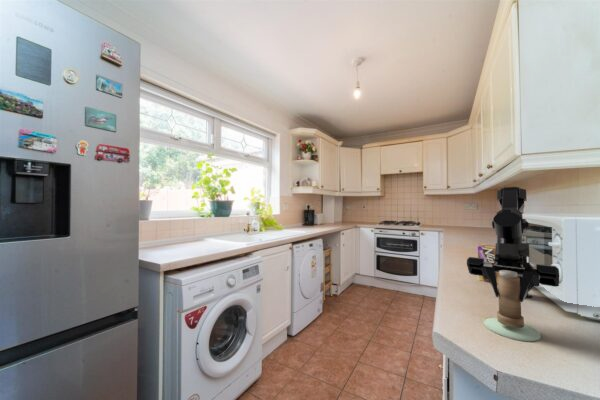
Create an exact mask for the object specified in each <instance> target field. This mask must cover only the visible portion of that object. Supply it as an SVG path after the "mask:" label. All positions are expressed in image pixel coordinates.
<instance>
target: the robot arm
mask: <svg viewBox="0 0 600 400" xmlns="http://www.w3.org/2000/svg"><path fill="white" fill-rule="evenodd" d="M496 198H497V199H496V200H497V202H498V203H499V205H500V206H499V207H500V208H501V209H500V210H497V212H496V214H495V215H494V216H493V219H492V221H491V226H492V228H493V230H494V233H495V235H496V243H495V245H496V252H495V262H496V264H493V263H491V262H484V258H478V257H475V256H469V257H468V258H467V259H466V266H467V270H468V273H469V275H473V276H478V277H479V276H483V278H485V279H488V280H489V282H488V283H490V285H491V287H492V290H493V292H494V295H495V297H496V298H498V284H497V281H496V275H495V272H499V271H500V270H508V271H514V272H517V276H518V277H519V278H520V300H521V303H523V302H524V301H525V299H526V298H533V295H532V294H530V293H529V292H530V291H531V290H532V289H533V288H534V287H540V285H542V286H549V287H559V286H560V270H559V268H558V266H556V265H551V264H542V263H541V264H540V263H536V266H535V267H536V268H534V267H533V266H532V265H531V263H530V261H529V262H528V258H530V243H528V242H527V243H525V242H523V236H522V235H523V234H524V231H527V230H528V228H529V227H530V224H529V222H528V221H527V218H523V217H524V216H523V211H522V210H523V209H524V208H525V202H527V189H525V188H520V187H519V186H504V187H501V188H500V189H498V190H496Z"/></svg>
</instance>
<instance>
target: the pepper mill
mask: <svg viewBox="0 0 600 400" xmlns="http://www.w3.org/2000/svg"><path fill="white" fill-rule="evenodd" d="M497 276H498V284H497V287H498V297H497V298H498V311H497V313H496V314H497V317H496V318H497V319H498V322H500V323H501V324H503V325H506V326H509V327H514V328H522V327H524V324H525V319H524V316H523V315H522V302H521V300H520V278H519V277H518V276H517V272H514V271H508V270H500V271H499V275H497Z"/></svg>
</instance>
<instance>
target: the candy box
mask: <svg viewBox="0 0 600 400" xmlns="http://www.w3.org/2000/svg"><path fill="white" fill-rule="evenodd" d="M495 252H496V244H495V245H493V244H484V243H480V244H477V258H484V262H491V263H493V264H496V262H495ZM495 275H496V281H497V285H498V276H497V275H499V272H495ZM478 280H479V281H480V282H481V281H482V282H486V283H490V282H489V280H488V279H485V278H483V276H479V275H478Z"/></svg>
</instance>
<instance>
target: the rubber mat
mask: <svg viewBox="0 0 600 400" xmlns="http://www.w3.org/2000/svg"><path fill="white" fill-rule="evenodd" d="M483 324H484V326H485V328H486V329H487V330H489V331H490V332H493V333H494V334H495V335H496V334H497V335H499V336H501V337H505V338H508V339H511V340H515V341H521V342H537V341H540V340H541V338H542V337H541V335H542V334H541V333H540V331H538V330H537V329H535V328H534V327H533V326H530V325H528V324H526V323H524V327H522V328H514V327H509V326H506V325H503V324H501V323H500V322H498V319H497V317H489V318H486V319H484V321H483Z"/></svg>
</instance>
